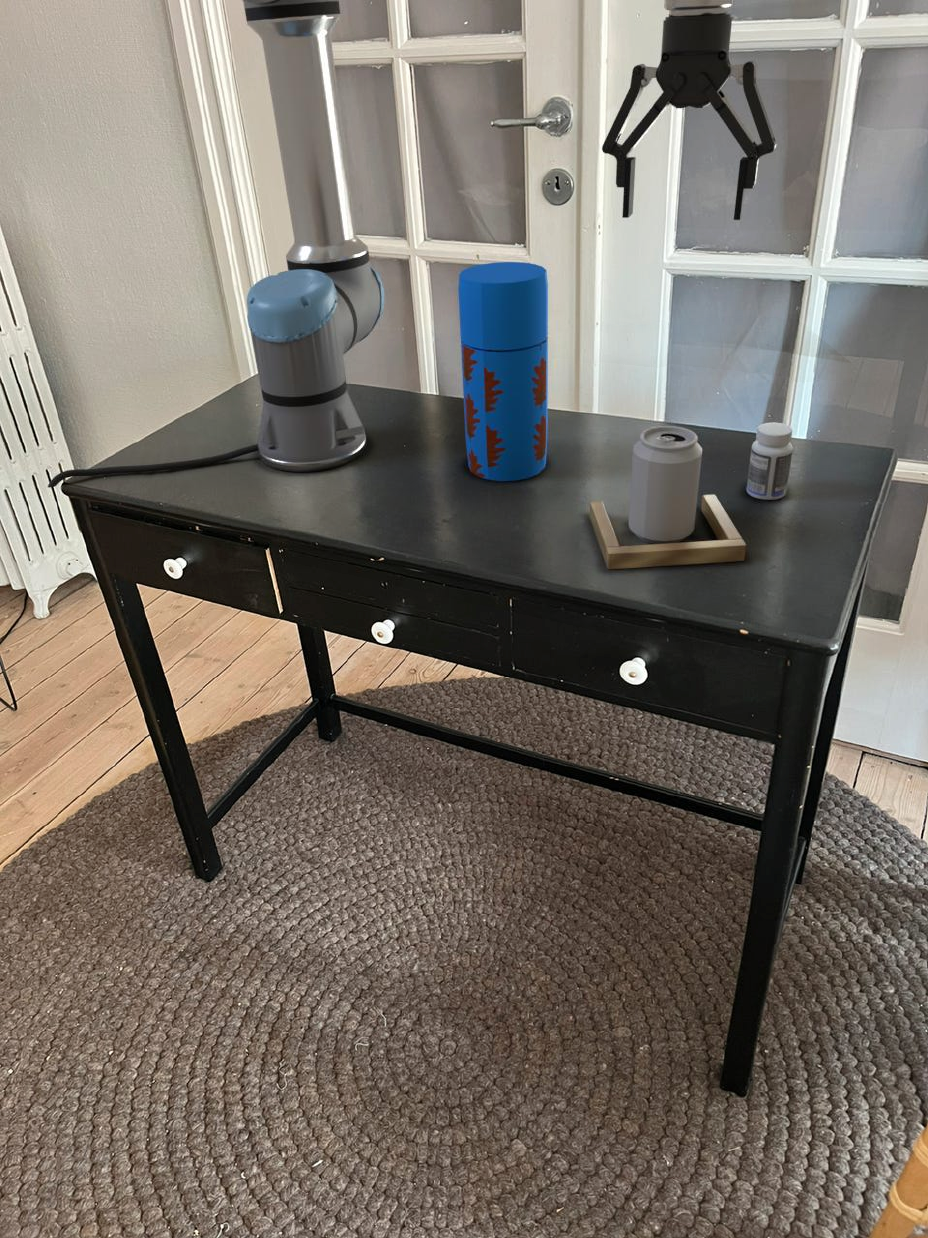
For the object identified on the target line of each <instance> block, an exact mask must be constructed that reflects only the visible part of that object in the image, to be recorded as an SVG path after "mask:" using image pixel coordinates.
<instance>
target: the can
mask: <svg viewBox="0 0 928 1238" xmlns="http://www.w3.org/2000/svg"><path fill="white" fill-rule="evenodd" d="M698 440H699V436H698V435H697V434H696V432H694V431H692V430H691V429H689V428H685V427H681V426H677V425H657V426H652V427H649V428H646V429H645V430H643V431H642V432H641V433H640V434H639V440H638V441H637V442H636V443H635V444H634V445H633V448H632V461H631V476H630V492H629V493H630V495H629V509H628V510H629V511H628V527H629V529H630V531H631V532H632V533H633V534H634V535H636V536H637V538H638V539H640V540H642V541H643V542H646V543H650V544H669V543H680V542H681V541H683V540H684V539H685V538H687V537H689V536H690V535H691V534H693V532H694V531H695V524H696V514H697V513H696V512H697V506H698V505H697V504H698V496H699V494H698V493H699V486H700V476H701V466H702V459H703V448H702V446H701V445H700V444H699V443H698Z"/></svg>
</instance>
